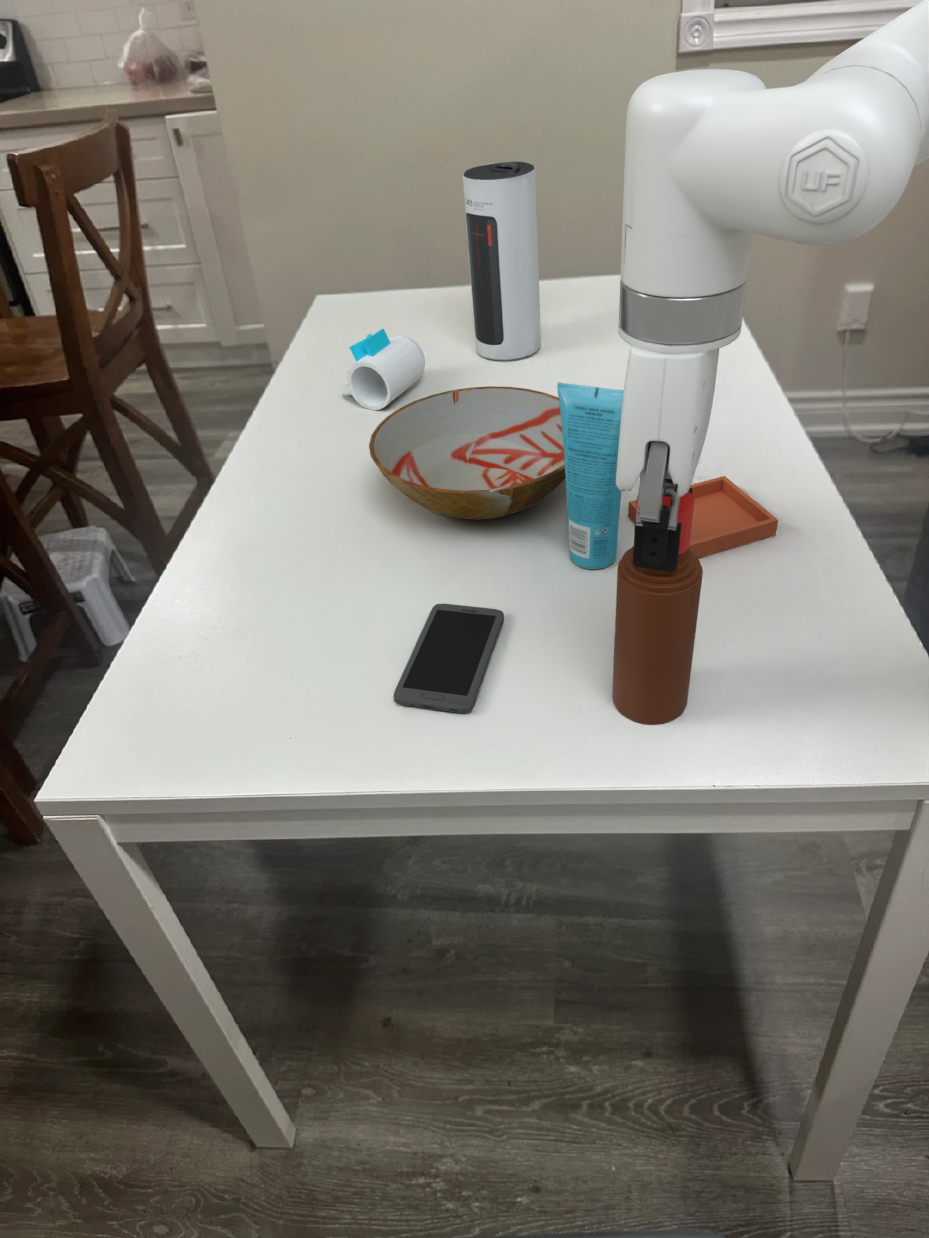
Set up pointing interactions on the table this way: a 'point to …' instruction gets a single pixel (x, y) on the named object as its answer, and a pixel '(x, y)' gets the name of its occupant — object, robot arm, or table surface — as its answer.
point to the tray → (723, 517)
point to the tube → (591, 471)
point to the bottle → (655, 638)
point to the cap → (682, 518)
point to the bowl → (473, 450)
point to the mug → (383, 369)
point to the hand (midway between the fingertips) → (661, 547)
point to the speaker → (503, 259)
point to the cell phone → (450, 658)
